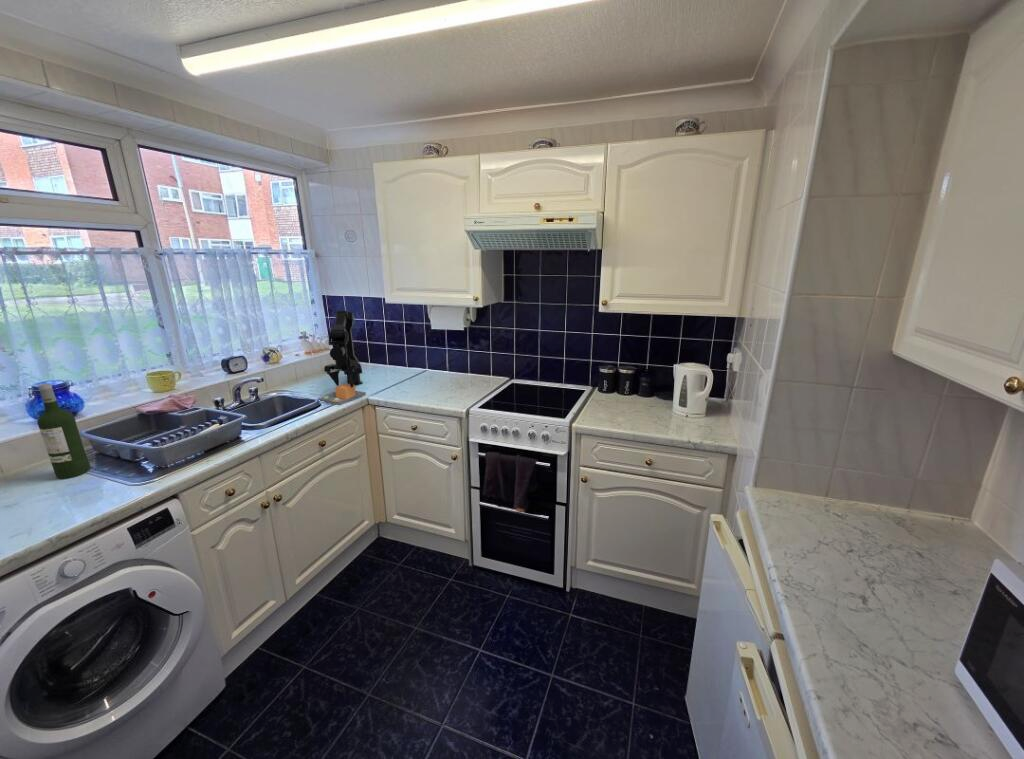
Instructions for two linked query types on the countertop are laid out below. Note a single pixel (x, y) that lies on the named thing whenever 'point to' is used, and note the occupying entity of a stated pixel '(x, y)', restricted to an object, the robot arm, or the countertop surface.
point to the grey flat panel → (338, 401)
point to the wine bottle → (61, 437)
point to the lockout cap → (345, 391)
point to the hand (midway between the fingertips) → (345, 386)
